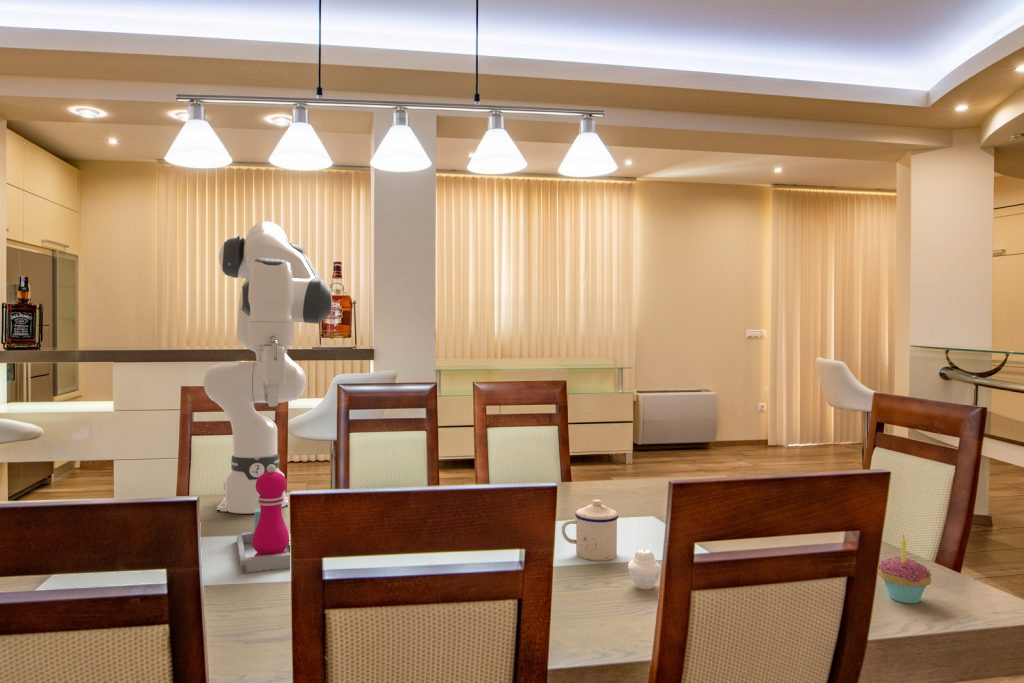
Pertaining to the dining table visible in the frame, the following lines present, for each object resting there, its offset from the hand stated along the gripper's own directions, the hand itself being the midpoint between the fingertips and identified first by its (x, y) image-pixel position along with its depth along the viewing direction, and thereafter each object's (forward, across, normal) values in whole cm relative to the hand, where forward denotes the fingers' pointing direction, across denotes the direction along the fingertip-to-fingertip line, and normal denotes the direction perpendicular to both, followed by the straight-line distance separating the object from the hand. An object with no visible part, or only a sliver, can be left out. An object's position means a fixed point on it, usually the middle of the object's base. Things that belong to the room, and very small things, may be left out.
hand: (270, 403), depth 140 cm
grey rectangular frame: (+32, +5, 0) cm, 33 cm away
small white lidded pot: (+33, -42, -63) cm, 82 cm away
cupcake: (+33, -65, -103) cm, 126 cm away
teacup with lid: (+32, -22, -63) cm, 74 cm away
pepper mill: (+32, -1, 0) cm, 32 cm away
